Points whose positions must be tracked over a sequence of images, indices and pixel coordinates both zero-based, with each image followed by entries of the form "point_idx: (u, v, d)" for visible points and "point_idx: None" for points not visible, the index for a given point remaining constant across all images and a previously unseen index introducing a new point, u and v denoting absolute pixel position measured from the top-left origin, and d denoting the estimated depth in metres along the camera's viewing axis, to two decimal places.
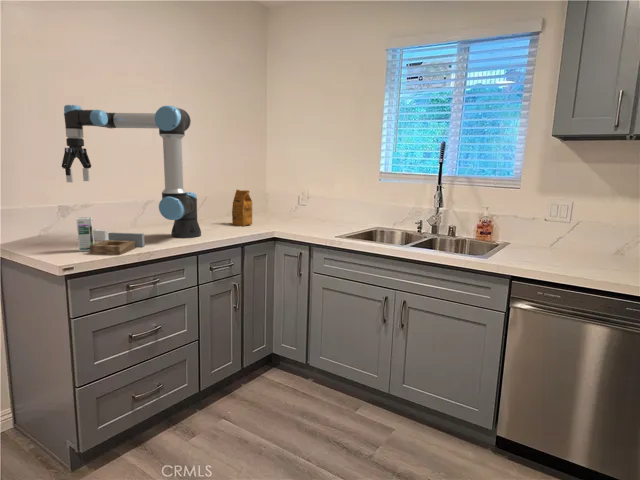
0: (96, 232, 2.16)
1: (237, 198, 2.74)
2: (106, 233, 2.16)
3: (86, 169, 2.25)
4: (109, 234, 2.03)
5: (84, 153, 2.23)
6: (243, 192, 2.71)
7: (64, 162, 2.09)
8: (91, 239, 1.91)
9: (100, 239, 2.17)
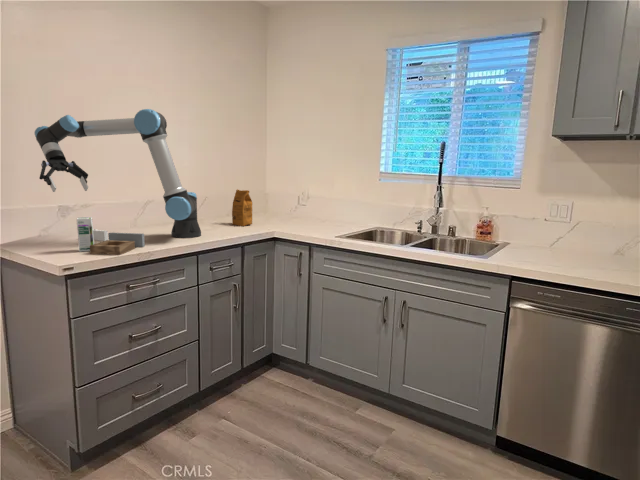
0: (95, 232, 2.16)
1: (237, 198, 2.74)
2: (105, 233, 2.16)
3: (81, 178, 2.04)
4: (109, 234, 2.03)
5: (73, 165, 2.06)
6: (243, 192, 2.71)
7: None
8: (91, 239, 1.91)
9: (99, 239, 2.16)
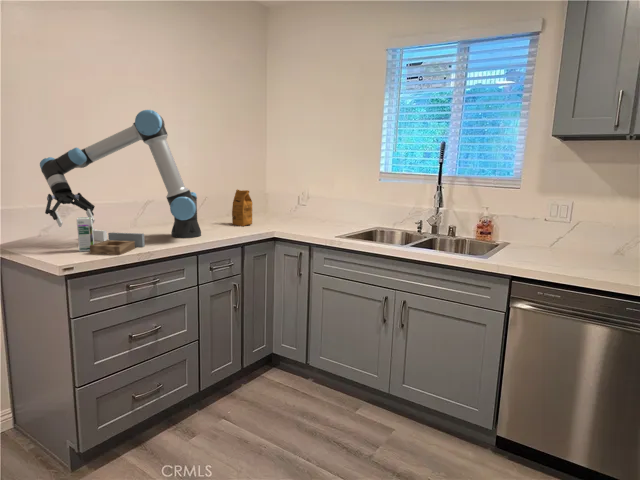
0: (94, 232, 2.16)
1: (237, 198, 2.74)
2: (104, 233, 2.16)
3: (87, 210, 2.00)
4: (109, 234, 2.03)
5: (79, 197, 2.02)
6: (243, 192, 2.71)
7: (46, 208, 1.89)
8: (91, 239, 1.91)
9: (98, 239, 2.16)
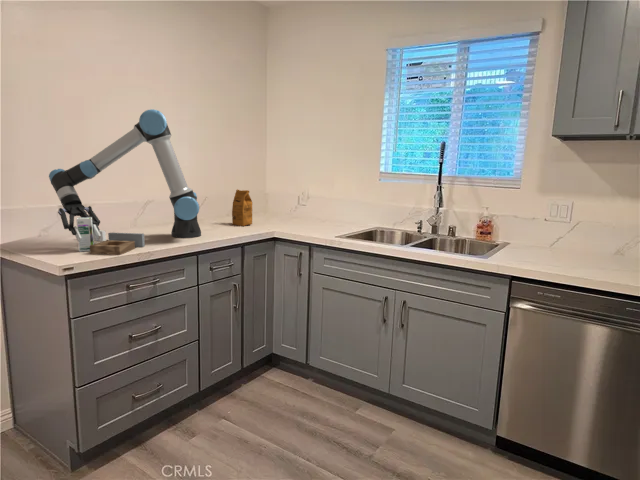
0: (93, 232, 2.16)
1: (237, 198, 2.74)
2: (103, 233, 2.16)
3: (93, 226, 1.95)
4: (109, 234, 2.03)
5: (89, 210, 1.99)
6: (243, 192, 2.71)
7: (63, 223, 1.88)
8: (91, 239, 1.91)
9: None
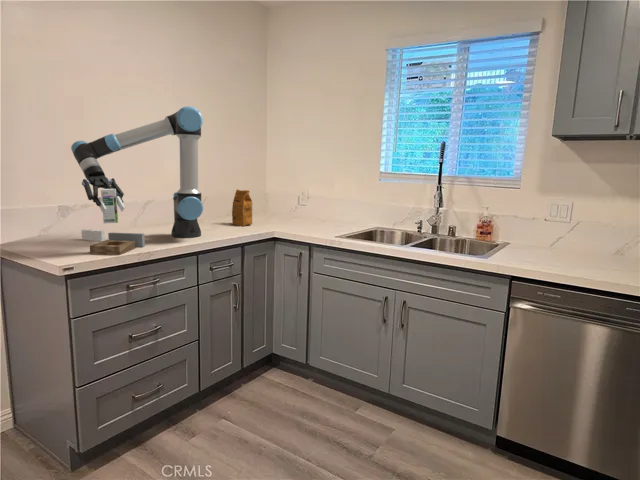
0: (92, 232, 2.15)
1: (237, 198, 2.74)
2: (102, 233, 2.15)
3: (117, 198, 1.92)
4: (109, 234, 2.03)
5: (112, 183, 1.95)
6: (243, 192, 2.71)
7: (88, 194, 1.85)
8: (115, 210, 1.88)
9: (96, 239, 2.16)
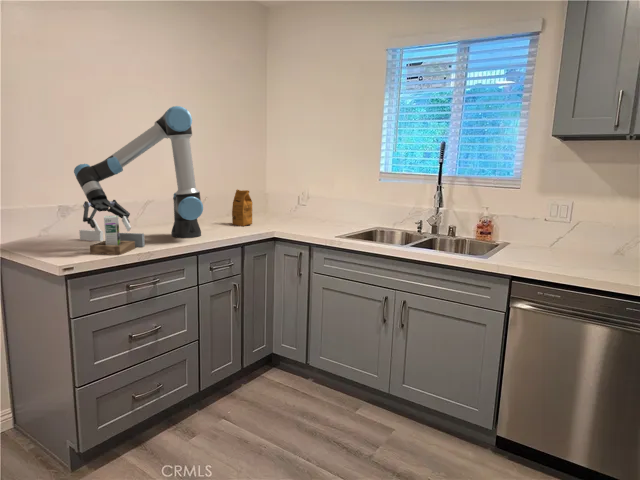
0: (90, 232, 2.15)
1: (237, 198, 2.74)
2: (100, 233, 2.15)
3: (123, 218, 1.96)
4: None
5: (115, 204, 1.98)
6: (243, 192, 2.71)
7: (83, 216, 1.85)
8: (118, 237, 1.90)
9: (95, 239, 2.15)
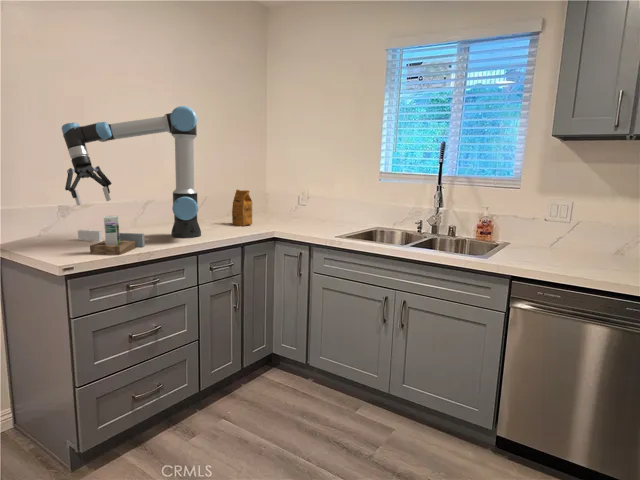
0: (89, 233, 2.14)
1: (237, 198, 2.74)
2: (99, 233, 2.15)
3: (104, 188, 2.05)
4: None
5: (98, 171, 2.05)
6: (243, 192, 2.71)
7: (66, 184, 1.93)
8: (118, 237, 1.90)
9: (93, 239, 2.15)
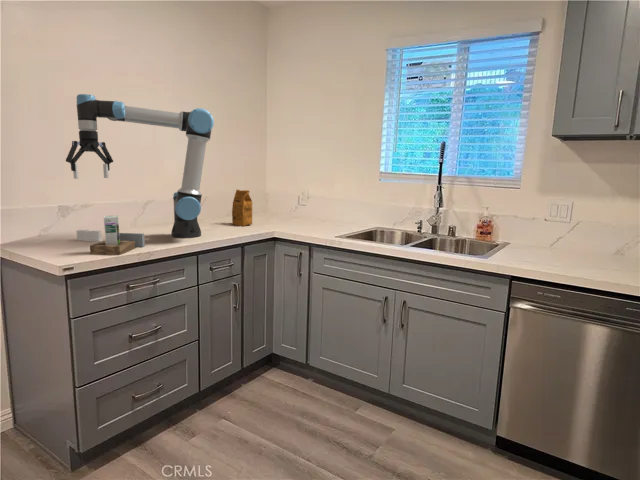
0: (88, 233, 2.14)
1: (237, 198, 2.74)
2: (99, 233, 2.15)
3: (105, 165, 2.06)
4: None
5: (102, 147, 2.04)
6: (243, 192, 2.71)
7: (68, 156, 1.93)
8: (118, 237, 1.90)
9: (92, 240, 2.15)
